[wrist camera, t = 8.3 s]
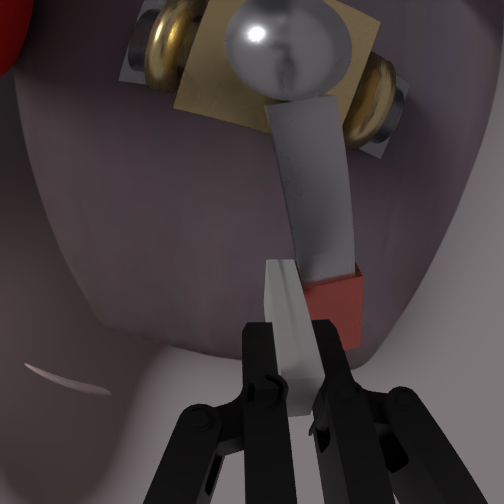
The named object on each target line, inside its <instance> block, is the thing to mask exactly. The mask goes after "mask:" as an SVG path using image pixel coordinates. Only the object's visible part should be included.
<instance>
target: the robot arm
mask: <svg viewBox="0 0 504 504" xmlns="http://www.w3.org/2000/svg"><path fill="white" fill-rule="evenodd" d="M264 310H265V320H266V322H250V323H247V324H246V326H245V327H244V329H243V331H242V371H243V372H242V373H243V388H242V391H241V393H240V395H239V396H238V397H237V398H236V399H235V400H233V401H232V402H230V403H227V404H224V405H221V406H217V407H211V406H209V405H207V404H195V405H191V406H189V407H187V408H186V409H184V410H183V412H182V413H181V415H180V416H179V419H178V421H177V423H176V426H175V428H174V430H173V433H172V435H171V438H170V440H169V443H168V445H167V447H166V450H165V452H164V454H163V457H162V459H161V461H160V464H159V466H158V469H157V471H156V474H155V476H154V478H153V481H152V483H151V485H150V488H149V490H148V492H147V495H146V497H145V500H144V502H143V504H210V502H211V499H212V496H213V492H214V490H215V487H216V483H217V480H218V477H219V474H220V471H221V468H222V464H223V461H224V458H225V455H229V454H232V453H235V452H239V451H242V450H244V468H245V504H297V497H296V487H295V478H294V468H293V459H292V450H291V442H290V432H289V423H288V417H292V416H304V415H310V413H311V410H313V416H314V421H313V423H312V425H311V428H310V430H309V436H311V435H312V433H313V435H314V441H315V447H316V453H317V459H318V465H319V471H320V477H321V484H322V490H323V496H324V503H325V504H395V499H394V495H395V496H396V498H397V500H398V502H399V503H400V504H488V503H487V501H486V499H485V498H484V496H483V494H482V493H481V491H480V489H479V488H478V486H477V484H476V483H475V481H474V480H473V478H472V476H471V475H470V473H469V471H468V470H467V468H466V467H465V465H464V464H463V462H462V460H461V459H460V457H459V456H458V454H457V453H456V451H455V450H454V448H453V447H452V445H451V444H450V442H449V441H448V439H447V437H446V436H445V434H444V433H443V432H442V430H441V429H440V427H439V426H438V424H437V423H436V421H435V420H434V419H433V417H432V416H431V414H430V413H429V411H428V410H427V408H426V407H425V405H424V404H423V403H422V401H421V400H420V398H419V397H418V395H417V394H416V393H415V392H414V391H413V390H412V389H409V388H407V387H401V386H399V387H396V388H393V389H392V390H391V391H389V393H380V392H372V391H368V390H365V389H363V388H362V387H361V386H360V385H359V384H358V383H357V382H355V381H354V379H353V377H352V374H351V371H350V367H349V364H348V361H347V358H346V355H345V352H344V349H343V348H342V343H341V340H340V337H339V334H338V331H337V328H336V327H335V326H334V325H333V323H332V322H331V321H330V320H329V319H322V320H311V319H310V316H309V312H308V308H307V304H306V301H305V297H304V293H303V290H302V286H301V283H300V279H299V276H298V272H297V269H296V265H295V262H294V260H266V275H265V292H264ZM393 493H394V495H393Z"/></svg>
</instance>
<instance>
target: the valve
mask: <svg viewBox="0 0 504 504" xmlns="http://www.w3.org/2000/svg"><path fill="white" fill-rule="evenodd" d="M246 1H248V0H210V1H209V3H208V5H207V4H206V0H144V2H143V5H142V7H141V10H140V13H139V15H138V18H137V21H136V24H135V26H134V29H133V32H132V35H131V38H130V41H129V44H128V48H127V51H126V54H125V58H124V61H123V65H122V68H121V72H120V76H119V80H118V81H123V82H131V83H138V84H145V85H147V86H148V88H149V89H151V90H156V91H161V92H167V93H175V92H176V91H177V90H178V92H177V96H176V100H175V103H174V107H173V108H174V109H179V110H183V111H188V112H192V113H196V114H201V115H205V116H209V117H213V118H216V119H220V120H224V121H228V122H231V123H235V124H238V125H242V126H245V127H249V128H252V129H255V130H259V131H262V132H265V133H268V134H270V130H269V126H268V122H267V117H266V113H265V109H264V105H263V104H266V103H271V102H276V101H282V100H279V99H275V98H270V97H266V96H264V95H261V94H259V93H257V92H255V91H253V90H251V89H250V88H248V87H247V86H246V85H245V84H244V83H243V82H242V81H241V80H240V79H239V77H238V76H237V75H236V73H235V72H234V70H233V68H232V66H231V65H230V63H229V60H228V57H227V54H226V49H225V34H226V29H227V26H228V23H229V21H230V19H231V17H232V16H233V14H234V13H235V12H236V10H237V9H238V8H239V7H240V6H241V5H242V4H244V3H245V2H246ZM322 1H324V2H325V3H327V4H328V5H329V6H331V7H332V8H333V9H334V10H335V11H336V12H337V13H338V14H339V15H340V17H341V18H342V20H343V21H344V23H345V24H346V26H347V28H348V30H349V34H350V37H351V42H352V58H351V62H350V66H349V68H348V70H347V72H346V74H345V76H344V77H343V79H342V80H341V81H340V82H339V83H338V84H337V85H336V86H335V87H334V88H333V89H331V90H330V91H328V92H327V93H325V94H329V95H337V100H338V106H339V111H340V117H341V123H342V130H343V136H344V143H345V147H346V148H348V149H351V150H356V149H360V150H362V151H365V152H367V153H369V154H371V155H373V156H375V157H377V158H379V159H381V158H382V155H383V153H384V151H385V148H386V146H387V144H388V141H389V139H390V136H391V134H392V133H393V132H394V130H395V129H396V127H397V125H398V123H399V121H400V119H401V116H402V113H403V109H404V101H405V98H406V96H407V93H408V90H409V87H410V85H411V84H410V83H408V82H407V81H405V80H403V79H402V78H400V77H399V76H397V75H396V71H395V68H394V66H393V64H392V63H391V62H390V61H388V60H386V59H384V58H383V57H381V56H379V55H377V54H375V53H374V52H372V51H371V49H372V46H373V43H374V40H375V37H376V34H377V32H378V29H379V26H380V23H381V22H379V21H377V20H376V19H374V18H372V17H370V16H368V15H366V14H364V13H362V12H360V11H358V10H356V9H354V8H352V7H350V6H347V5H345V4H343V3H341V2H339V1H336V0H322Z"/></svg>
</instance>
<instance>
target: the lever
mask: <svg viewBox="0 0 504 504" xmlns="http://www.w3.org/2000/svg"><path fill="white" fill-rule="evenodd" d="M225 49H226V54H227V57H228V60H229V63H230V65H231V66H232V68H233V70H234V72H235V73H236V75H237V76H238V77H239V79H240V80H241V81H242V82H243V83H244V84H245V85H246V86H247V87H248V88H250V89H251V90H253V91H255V92H257V93H259V94H261V95H264V96H266V97H270V98H275V99H279V100H282V101H276V102H271V103H266V104H263V105H264V109H265V113H266V117H267V122H268V126H269V130H270V135H271V139H272V143H273V148H274V152H275V157H276V161H277V166H278V171H279V175H280V180H281V185H282V190H283V195H284V200H285V205H286V210H287V215H288V220H289V225H290V230H291V236H292V241H293V246H294V252H295V257H296V261H294V262H295V265H296V269H297V272H298V276H299V279H300V283H301V286H302V290H303V293H304V297H305V301H306V304H307V308H308V312H309V316H310V319H311V320H322V319H329V320H330V321H331V322H332V323H333V325H334V326H335V327H336V328H337V331H338V334H339V337H340V340H341V343H342V348H343V349H344V350H348V349H352V348H356V347H360V345H361V328H362V302H363V276H362V274H361V272H360V270H359V268H358V266H357V264H356V262H355V255H354V234H353V219H352V206H351V194H350V184H349V175H348V166H347V158H346V150H345V143H344V136H343V130H342V123H341V117H340V111H339V106H338V100H337V95H329V94H325V93H327V92H328V91H330V90H331V89H333V88H334V87H335V86H336V85H337V84H338V83H339V82H340V81H341V80H342V79H343V77H344V76H345V74H346V72H347V70H348V68H349V66H350V62H351V58H352V42H351V37H350V34H349V30H348V28H347V26H346V24H345V23H344V21H343V20H342V18H341V17H340V15H339V14H338V13H337V12H336V11H335V10H334V9H333V8H332V7H331V6H329V5H328V4H327V3H325V2H324V1H322V0H248V1H246V2H245V3H244V4H242V5H241V6H240V7H239V8H238V9H237V10H236V12H235V13H234V14H233V16H232V17H231V19H230V21H229V23H228V26H227V29H226V34H225Z"/></svg>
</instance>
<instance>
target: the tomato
mask: <svg viewBox="0 0 504 504" xmlns="http://www.w3.org/2000/svg"><path fill="white" fill-rule="evenodd" d="M33 3H34V0H0V77H1V76H3V75H4V74H5V73H6V72H7V71H8V70H9V69H10V67H11V66H12V65H13V63H14V62H15V60H16V59H17V57H18V55H19V53H20V51H21V49H22V46H23V44H24V41H25V39H26V35H27V32H28V29H29V25H30V21H31V16H32V11H33Z"/></svg>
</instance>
